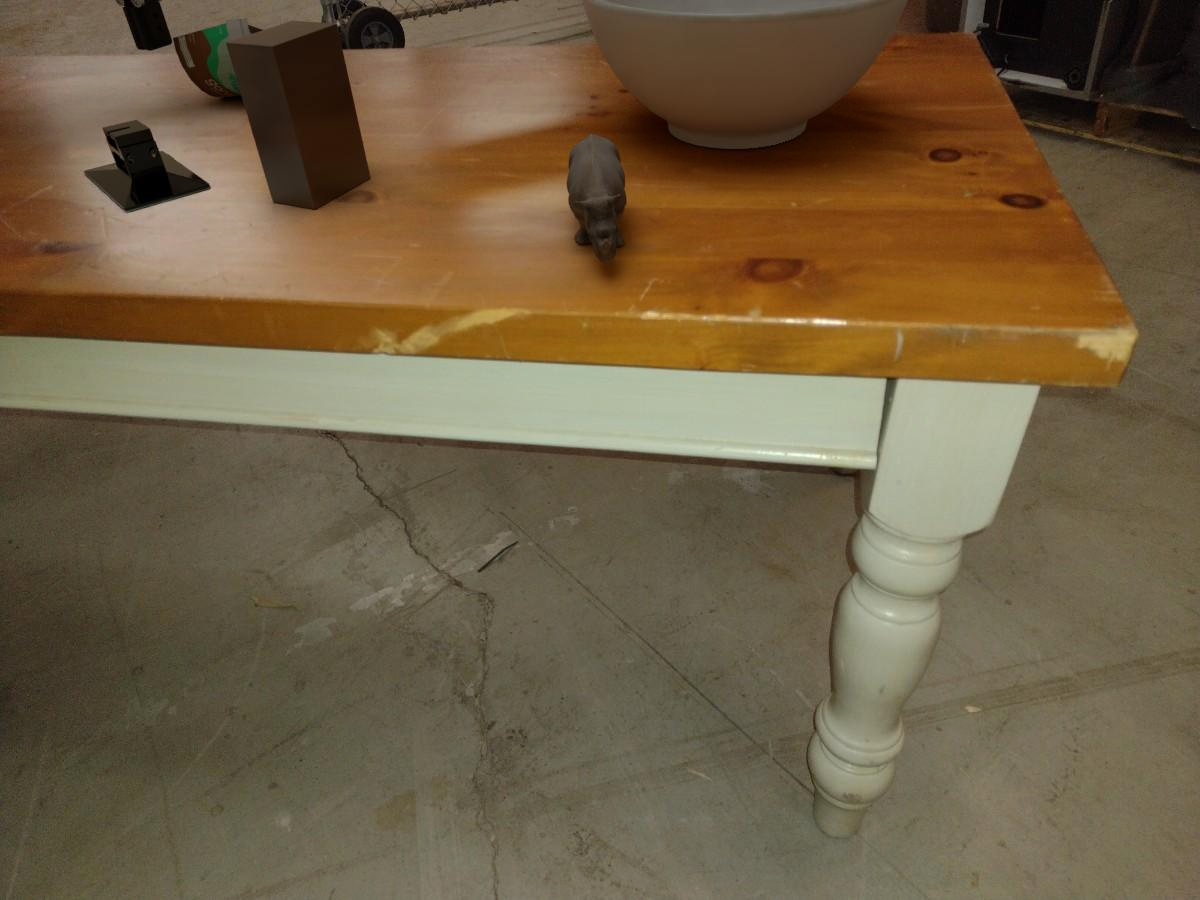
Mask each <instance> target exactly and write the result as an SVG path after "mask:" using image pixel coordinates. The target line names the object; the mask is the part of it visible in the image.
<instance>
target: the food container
mask: <svg viewBox="0 0 1200 900" xmlns="http://www.w3.org/2000/svg"><path fill="white" fill-rule="evenodd" d="M262 30H263V28H260V27H257V26H253V25H251V24H248V18H247V17H245V18H233V19H226V20H225V23H221V24H218V25H214V26H210V27H207V28H204V29H200V30H196V31H194V32H189V33H186V34H182V35H178V36H174V37H172V42H173V45H174V49H175V52H176V54H177V57H178V60H179V62H180V65H181V67H182V69H183V70H184V72H185V73H186V75H187V76H188V78H189V79H190V81H191V82H192V83H193V84H194V85H195V86H196V87H197V88H198V89H199V90H200V91H201V92H202V93H204V94H206V95H208V96H210V97H213V98H218V99H219V98H220V99H221V98H228V97H229V98H230V97H242V96H241V93H240V89H239V86H238V82H237V79H236V76H235V72H234V69H233V66H232V62H231V59H230V55H229V52H228V49H227V45H226V42H229V41H232V40H235V39H238V38H241V37H244V36H247V35H250V34H253V33H256V32H259V31H262Z"/></svg>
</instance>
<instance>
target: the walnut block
mask: <svg viewBox="0 0 1200 900" xmlns="http://www.w3.org/2000/svg"><path fill="white" fill-rule="evenodd" d="M339 31H340V30H339V27H338V23H335V22H319V21H305V20H304V21H303V20H290V21H286V22H283V23H280V24H277V25H274V26H272V27H269V28H265V29H262V31H259V32H256V33H253V34H250V35H247V36H244V37H241V38H238V39H235V40H232V41H229V42H226V45H227V49H228V52H229V55H230V59H231V62H232V66H233V69H234V72H235V76H236V79H237V82H238V86H239V89H240V93H241V96H240V97H241V99H242V103H243V106H244V109H245V112H246V116H247V119H248V120H247V121H248V123H249V127H250V130H251V133H252V137H253V140H254V143H255V146H256V150H257V153H258V156H259V160H260V164H261V167H262V170H263V173H264V174H263V175H264V177H265V180H266V184H267V187H268V190H269V194H270V197H271V201H272V203H276V204H280V205H281V204H282V205H288V206H292V207H293V206H294V207H297V208H305V209H311V210H317V209H319V208H321V207H322V206H324V205H326V204H327V203H329V202H331V201H333V200H335V199H336V198H338V197H340V196H342V195H343V194H345V193H347V192H349V191H350V190H353V189H354V188H356V187H357V186H360V185H361V184H364V183H365V182H367V181H368V180H370V179H371V173H370V168H369V163H368V159H367V154H366V150H365V146H364V141H363V135H362V132H361V127H360V123H359V118H358V113H357V109H356V104H355V100H354V94H353V91H352V86H351V82H350V77H349V73H348V67H347V64H346V60H345V59H346V58H345V55H344V54H345V53H344V49H343V46H342V40H341V35H340V32H339Z"/></svg>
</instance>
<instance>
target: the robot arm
mask: <svg viewBox="0 0 1200 900" xmlns="http://www.w3.org/2000/svg"><path fill="white" fill-rule="evenodd" d="M114 1H115V3H116V4H117V5H118V6H119V7H122V10H123V13H124V16H125V19H126V21H127V25H128V28H129V30H130V33H131V36H132V38H133V42H134V44H135V47H136V49H137V50H139V51H149V52H151V51H152V52H153V51H156V50H158V49H161V48H165V47H168V46H171V45H172V44H173V37H172V35H171V32H170V30H169V26H168V23H167V21H166V18H165V14H164V11H163V7H162V5H161V2H162V1H163V0H114Z"/></svg>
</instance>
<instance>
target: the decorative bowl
mask: <svg viewBox="0 0 1200 900" xmlns="http://www.w3.org/2000/svg"><path fill="white" fill-rule="evenodd" d="M581 1H582V5H583V9H584V13H585V15H586V18H587V21H588V24H589V26H590V29H591V32H592V35H593V37H594V39H595V42H596V44H597V46H598V48H599V50H600V52H601V54H602V56H603V57H604V59H605V61H606V62H607V64H608V66H609V67H610V69H611V70H612V72H613V73H614V75H615V76H616V78H617V79H618V81H619V83H621V84H622V85H623V87H624V88H625V90H627V91H628V92H629V94H630V95H631V96H632V97H633V98H634V99H636V100H637V102H639V103H640V104H641V105H642V106H643V107H644V108H646V109H648V110H649V111H650V112H652V113H653V114H654V115H656V116H658V117H659V118H661V119H663V120H665V121H666V122H667V128H668V132H669V133H670V134H671V135H672V136H673V137H675V138H676V139H678V140H680V141H682V142H684V143H688V144H691V145H693V146H698V147H703V148H710V149H718V148H719V149H720V150H750V148H752V149H759V147H761V148H767V147H772V146H771V145H773V146H777V145H780V144H779V143H781V144H783V143H782V142H784V143H786V142H785V141H787V142H789V141H788V140H790V141H792V140H794V139H796V138H797V136H798V135H799V136H801V135H802V134H803V133H804V132H805V130H806V127H807V124H808V120H810V119H812V118H814V117H816V116H818V115H819V114H821V113H823V112H824V111H826V110H827V109H829V108H830V107H832V106H834V104H836V103H837V102H838V101H839V100H841V99H842V98H843V97H844V96H845V95H846V94H848V93H849V92H850V91H851V90H852V89H853V88H854V87H855V86H856V85H857V84H858V82H859V81H860V80H861V79H862V78H863V77H864V76H865V75H866V73H868V71H869V70H870V68H871V67H872V66H873V64H874V63H875V62H876V60H877V59H878V58H879V56H880V54H881V53H882V51H883V50H884V48H885V47H886V45H887V44H888V42H889V40H890V38H891V37H892V35H893V33H894V31H895V30H896V27H897V25H898V23H899V21H900V19H901V17H902V15H903V13H904V11H905V8H906V6H907V4H908V1H909V0H581ZM803 131H804V132H803ZM802 132H803V133H802ZM801 133H802V134H801ZM799 136H798V137H799ZM795 137H796V138H795ZM793 138H794V139H793ZM791 139H792V140H791ZM776 144H777V145H776ZM766 146H767V147H766Z"/></svg>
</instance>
